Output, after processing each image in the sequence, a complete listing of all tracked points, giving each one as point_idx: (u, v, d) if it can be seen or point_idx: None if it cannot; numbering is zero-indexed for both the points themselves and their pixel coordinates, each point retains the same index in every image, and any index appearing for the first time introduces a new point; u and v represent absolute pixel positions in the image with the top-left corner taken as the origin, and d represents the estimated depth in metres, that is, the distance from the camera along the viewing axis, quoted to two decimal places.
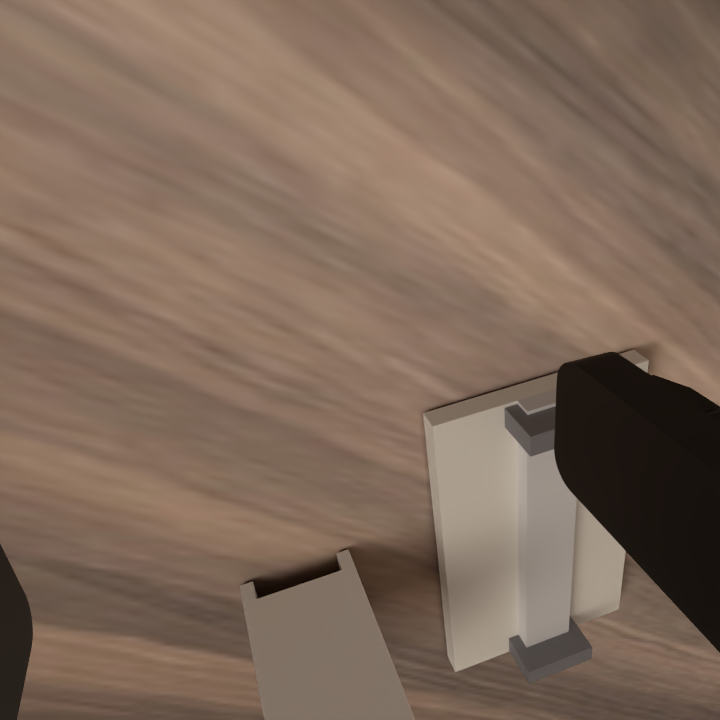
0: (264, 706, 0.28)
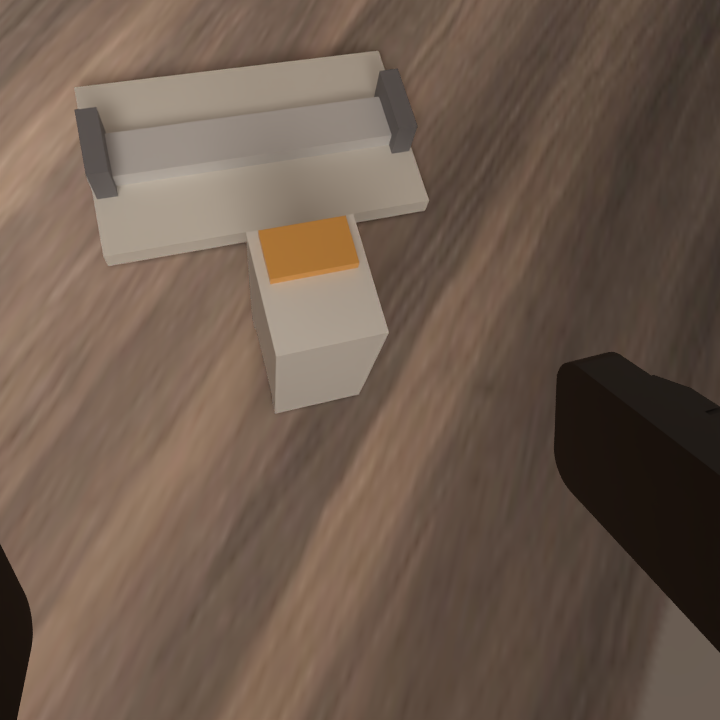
0: (275, 376, 0.30)
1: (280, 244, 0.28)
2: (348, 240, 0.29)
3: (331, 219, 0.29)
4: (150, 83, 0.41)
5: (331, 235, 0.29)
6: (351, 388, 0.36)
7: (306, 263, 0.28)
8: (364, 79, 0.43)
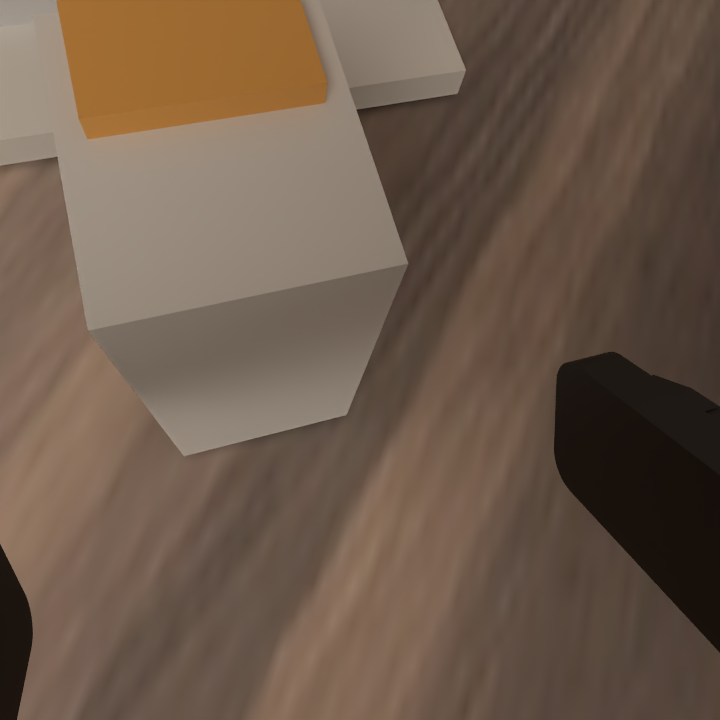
0: None
1: (115, 34, 0.11)
2: (298, 30, 0.11)
3: None
4: None
5: (254, 17, 0.11)
6: (329, 405, 0.18)
7: (183, 81, 0.10)
8: None
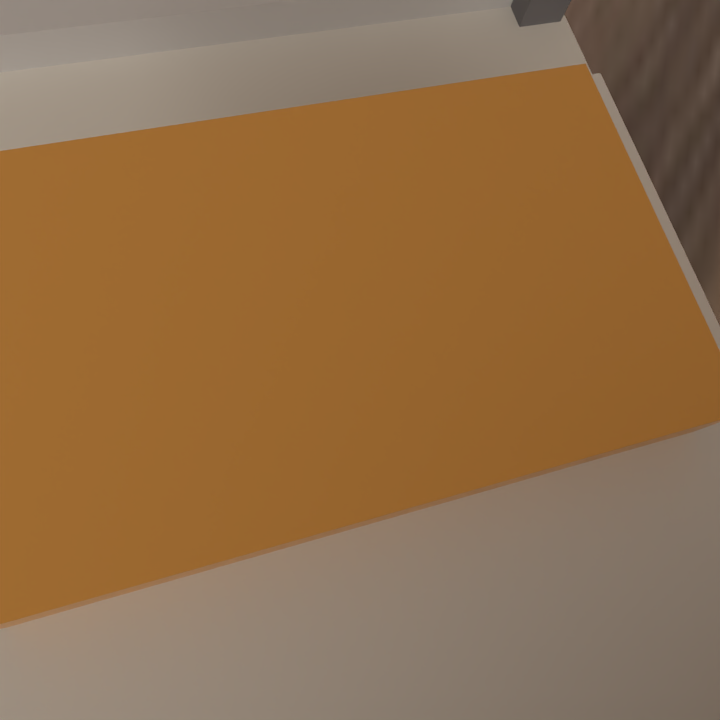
0: None
1: (97, 277, 0.03)
2: (633, 236, 0.04)
3: (494, 87, 0.04)
4: None
5: (506, 200, 0.04)
6: None
7: (320, 442, 0.03)
8: None
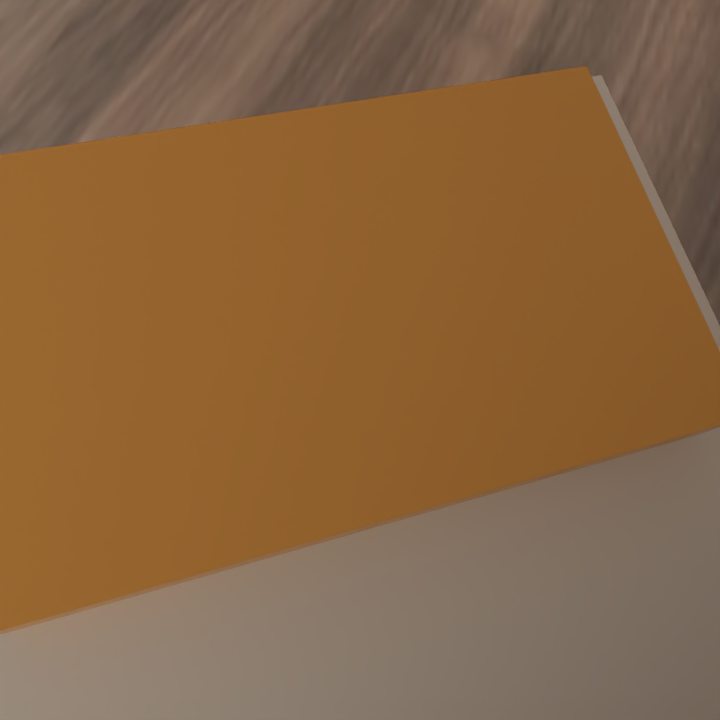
0: None
1: (97, 281, 0.03)
2: (635, 239, 0.04)
3: (495, 90, 0.04)
4: None
5: (507, 203, 0.04)
6: None
7: (321, 447, 0.03)
8: None
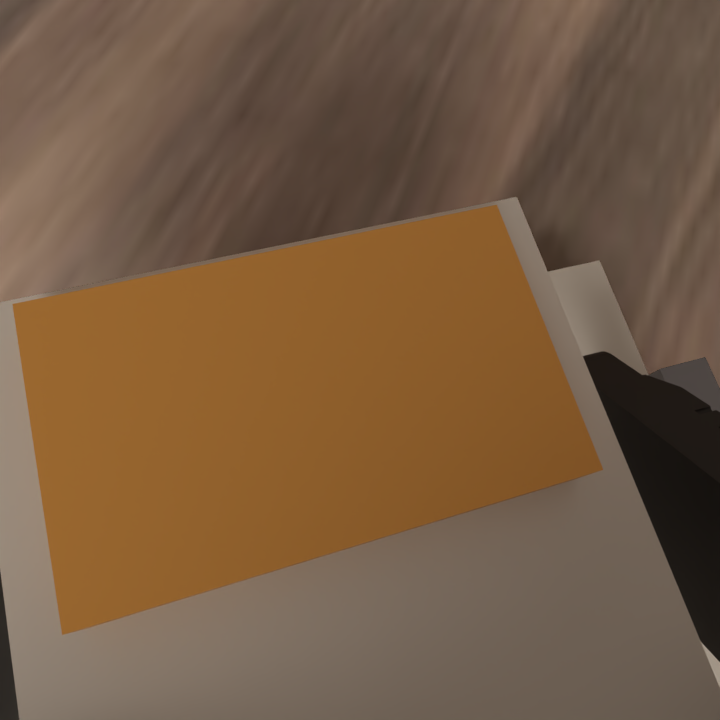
0: None
1: (143, 383, 0.05)
2: (526, 339, 0.05)
3: (427, 227, 0.05)
4: None
5: (434, 315, 0.05)
6: None
7: (299, 498, 0.05)
8: None
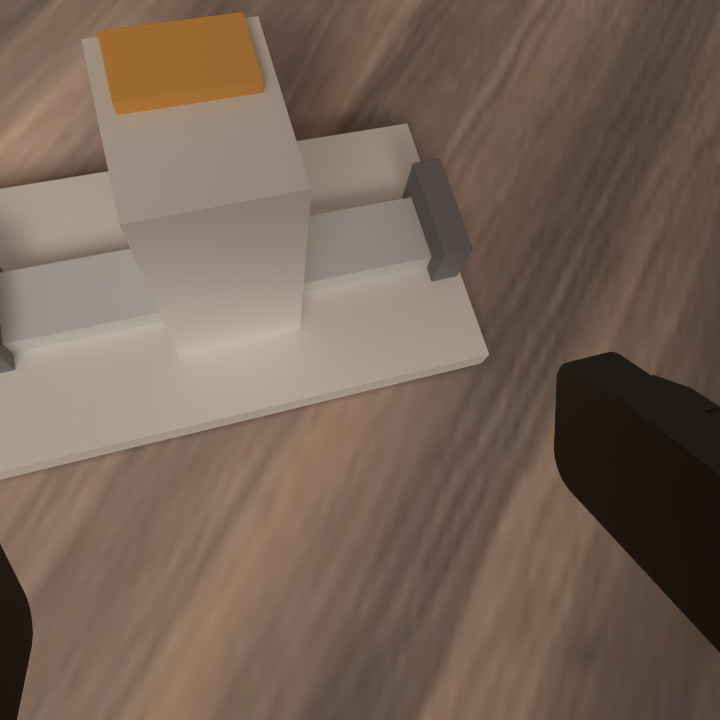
0: (144, 277, 0.19)
1: (132, 51, 0.17)
2: (246, 47, 0.18)
3: (219, 17, 0.18)
4: (72, 185, 0.28)
5: (218, 39, 0.18)
6: (284, 315, 0.25)
7: (174, 79, 0.17)
8: (388, 167, 0.30)
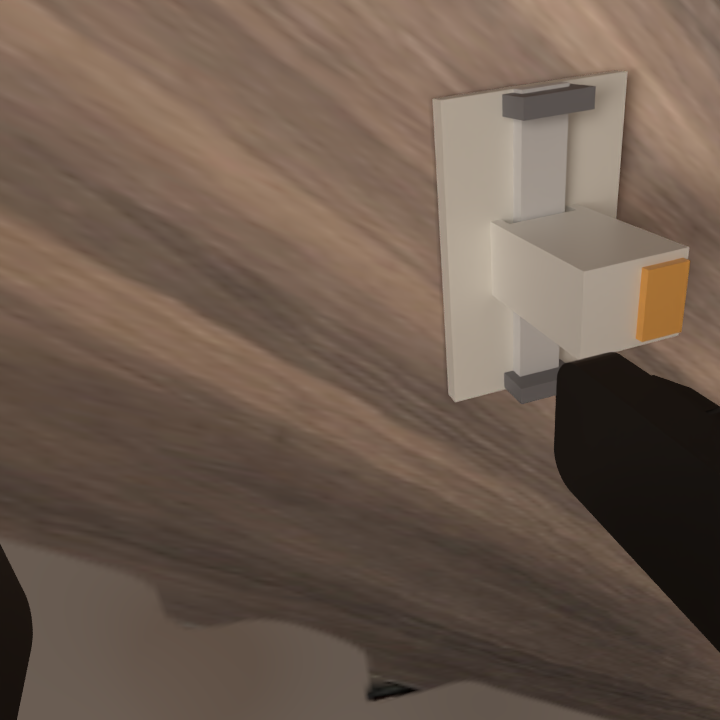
0: (550, 252, 0.34)
1: (673, 279, 0.33)
2: (661, 333, 0.34)
3: (681, 320, 0.34)
4: (615, 151, 0.41)
5: (668, 320, 0.34)
6: (504, 295, 0.41)
7: (652, 300, 0.33)
8: None
